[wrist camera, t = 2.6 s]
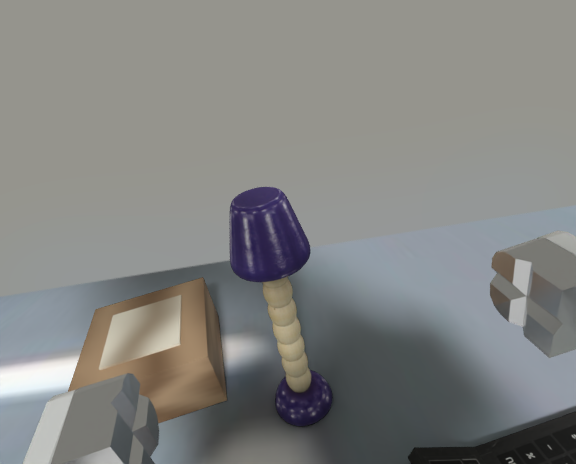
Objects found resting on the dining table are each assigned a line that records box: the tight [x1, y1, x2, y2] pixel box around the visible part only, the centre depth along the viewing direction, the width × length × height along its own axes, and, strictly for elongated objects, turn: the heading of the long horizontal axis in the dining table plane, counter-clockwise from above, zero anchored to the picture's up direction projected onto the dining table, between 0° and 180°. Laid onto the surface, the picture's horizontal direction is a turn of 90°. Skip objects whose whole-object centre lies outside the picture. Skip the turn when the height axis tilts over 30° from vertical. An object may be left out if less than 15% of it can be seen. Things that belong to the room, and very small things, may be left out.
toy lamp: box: [230, 187, 332, 426], centre depth 24 cm, size 5×5×17 cm
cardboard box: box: [68, 277, 227, 423], centre depth 32 cm, size 10×10×5 cm
